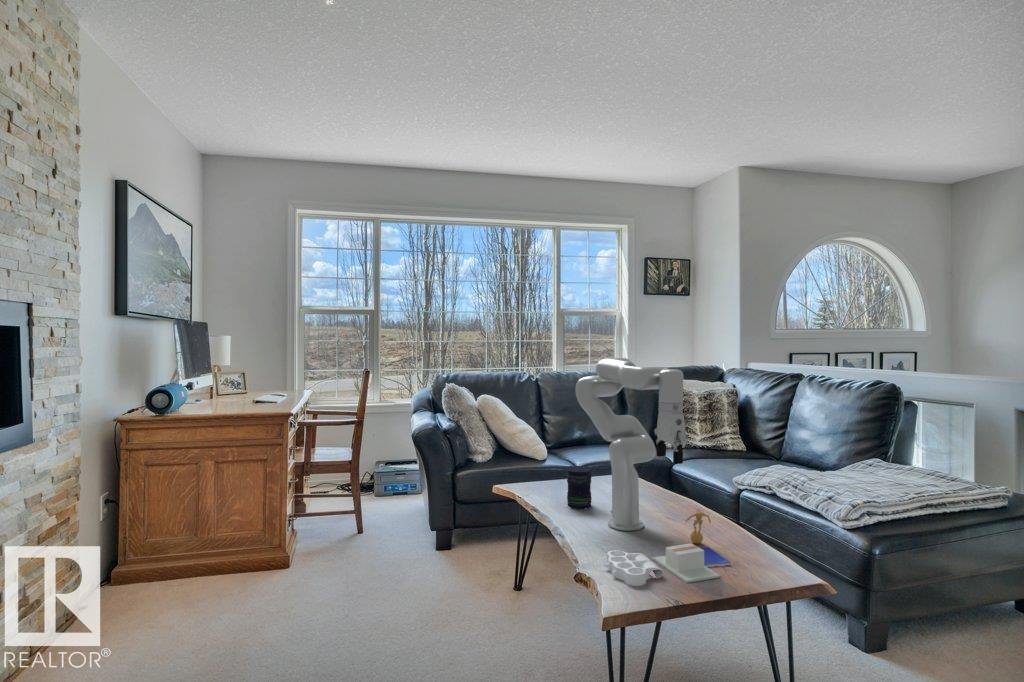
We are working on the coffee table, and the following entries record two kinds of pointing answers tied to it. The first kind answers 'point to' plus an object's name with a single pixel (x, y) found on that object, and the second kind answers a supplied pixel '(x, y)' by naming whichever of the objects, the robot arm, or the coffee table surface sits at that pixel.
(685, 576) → the mat
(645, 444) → the robot arm
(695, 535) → the figurine
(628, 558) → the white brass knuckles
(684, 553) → the card box
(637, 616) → the coffee table surface
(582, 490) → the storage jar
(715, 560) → the hard drive
